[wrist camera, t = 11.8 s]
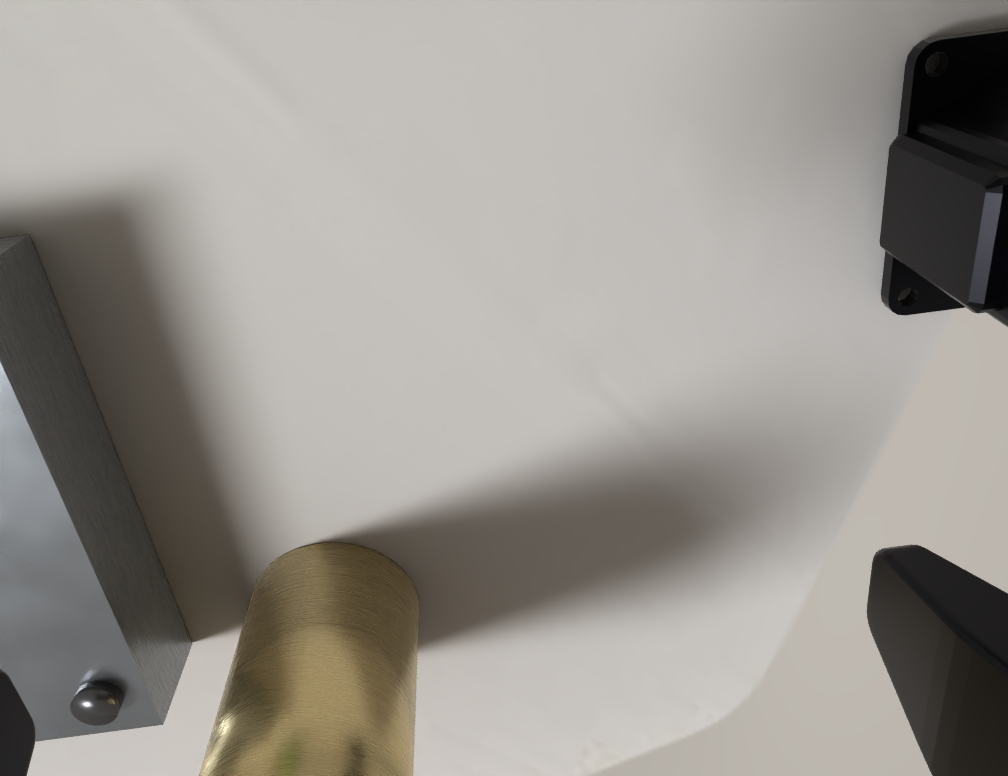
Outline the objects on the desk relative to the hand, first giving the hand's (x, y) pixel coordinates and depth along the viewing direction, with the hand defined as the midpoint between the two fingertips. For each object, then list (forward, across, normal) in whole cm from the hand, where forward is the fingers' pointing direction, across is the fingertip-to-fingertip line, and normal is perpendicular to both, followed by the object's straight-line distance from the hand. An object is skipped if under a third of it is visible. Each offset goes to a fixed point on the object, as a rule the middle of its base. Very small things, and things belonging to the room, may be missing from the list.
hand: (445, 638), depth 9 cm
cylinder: (+13, +5, +11) cm, 18 cm away
